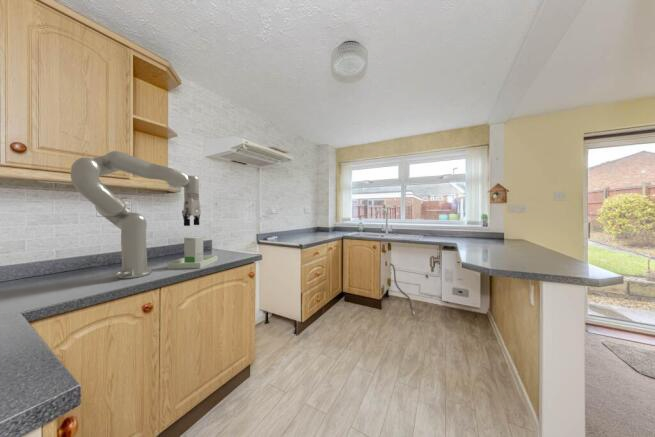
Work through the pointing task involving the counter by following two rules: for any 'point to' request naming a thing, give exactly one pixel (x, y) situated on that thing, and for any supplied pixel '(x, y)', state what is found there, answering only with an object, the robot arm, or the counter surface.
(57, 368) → the counter surface
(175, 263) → the tray
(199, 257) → the skincare box
